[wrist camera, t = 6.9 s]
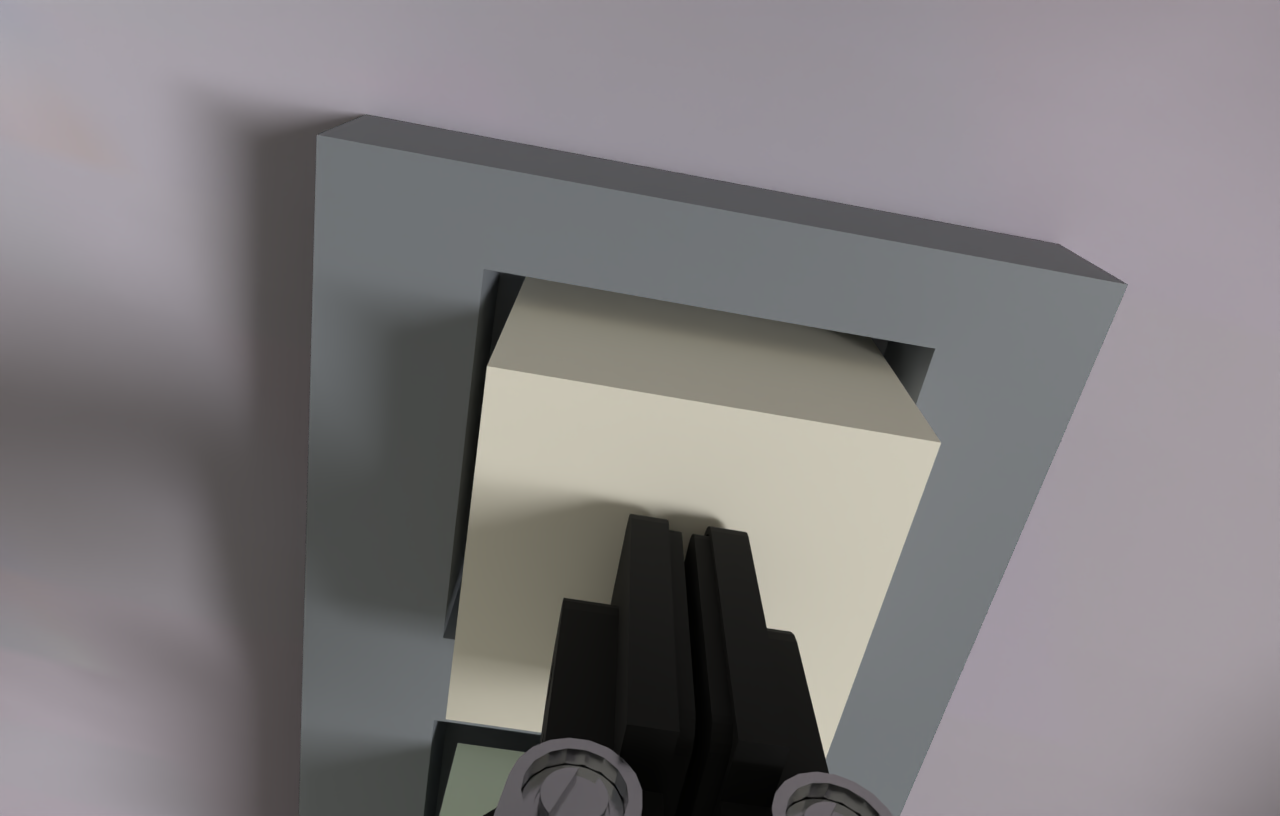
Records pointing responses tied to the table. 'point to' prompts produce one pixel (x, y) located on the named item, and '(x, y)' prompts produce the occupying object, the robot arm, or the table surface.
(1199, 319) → the table surface
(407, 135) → the board
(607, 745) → the robot arm
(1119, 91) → the table surface
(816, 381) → the tile
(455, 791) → the two-dot tile
